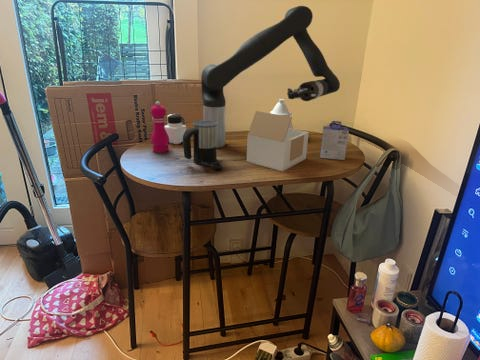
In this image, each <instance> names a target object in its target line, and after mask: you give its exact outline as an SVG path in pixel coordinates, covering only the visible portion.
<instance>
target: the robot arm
mask: <svg viewBox="0 0 480 360" xmlns="http://www.w3.org/2000/svg"><path fill="white" fill-rule="evenodd" d="M313 17H314V16H313V12H312V10H311V9H310V8H309V7H308V6H305V5H298V6H295V7H292V8H290V9H288V10H287V12H285V14H284V17H283V19H282V20H280V21H279V22H277V23H275V24H273V25H271V26H269V27H267V28H265V29H263V30H261V31H259V32H258V33H256V34H254V35H253V36H252V37H250V38H248V39H247V40H246V41H244V42H243V43H242V44H241V45H240V47H238V49H237V50H236V51H235V52H234V53H233V55H232V56H230V57H228V58H227V59H225V60H224V61H223V62H221V63H219V64H208V65H206V66H205V67H204V68H203V69H202V72H201V75H200V76H201V78H200V79H201V98H202V102H203V103H202V104H203V121H214V122H216V123H217V137H216V149H217V148H223V147H224V146H226V98H225V95H224V88H225V87H226V86H227V85H229V83H231V82H232V81H233V80H234V79H235V78H236V77H237V76H239V74H241V73H242V72H244V71H246V70H248V69H249V68H250V67H252V66H253V65H255V64H257V63H258V62H259V61H261V60H263V59H264V58H266V57H267V56H268V55H270V54H271V53H272V52H273V51H274V50H276V49H277V48H279V46H281V45H282V44H283V43H284V42H286V41H287V40H289V39H291V38H293V39H294V41H295V42H296V43H297V45H298V47H299V49H300V50H301V52H302V53H303V56H304V58H305V60H306V62H307V64H308V66H309V69H310V71H311V72H312V73H311V74H312V75H313V76H314V77H318V78H319V77H323V79H317V80H310V81H306V82H302V83H301V84H300V85H299V86H298V87H297V88H294V89H292V88H290V87H289V88H287V89H286V90H287V94H286V95H287V98H288V99H289V100H296V99H299V100H302V101H304V102H310V101H313V100H316V99H317V98H319V97H324V96H326V95H330V94H333V93H336V92H337V91H339V90H340V87H341V84H340V80H339V78H338V77H337V76H336V74H335V73H334V72H333V71H332V70H331V68H330V67H329V66H328V64H327V63H328V62H327V61H326V59H325V56H324V55H323V53H322V50H321V49H320V48H319V47H318V45H317V44H316V43H315V42H314V41H313V39H312V38H311V35H310V33H309V32H308V29H307V28H309V27H310V25H311V24H312V21H313Z"/></svg>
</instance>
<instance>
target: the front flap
mask: <svg viewBox="0 0 480 360" xmlns="http://www.w3.org/2000/svg"><path fill="white" fill-rule="evenodd" d="M292 119H293V117H291V116H290V117H287V116H282V115H276V114H270V112H264V111H258V110H255V113H254V115H253V118H252V121H251V124H250V127H249V130H248V133H247V135H248V134H250V135H254V136H259V137H263V138H268V139H272V140H277V141H281V142H284V140H285V137H286V134H287V131H288V128H289V125H290V122H292Z"/></svg>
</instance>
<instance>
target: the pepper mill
mask: <svg viewBox="0 0 480 360" xmlns="http://www.w3.org/2000/svg"><path fill="white" fill-rule="evenodd" d="M166 114H167V110H166V107H164V106H163V105H161V103H160V101H155V105H153V106H152V107H151V108H150V115H151V116H152V117H151V118H152V119H151V121H152V122H153V131H152V134H151V137H150V139H151V140H150V141H151V143H152V145H153V146H152V150H153V152H156V153H165V151H166V152H168V151H169V145H168V144H169V143H168V142H169V136H168V134H167V132H166V130H165V127H164V126H165V122H166Z"/></svg>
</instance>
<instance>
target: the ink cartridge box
mask: <svg viewBox="0 0 480 360" xmlns="http://www.w3.org/2000/svg"><path fill="white" fill-rule="evenodd" d="M349 131H350V129H349V127H344V126H342V121H338V120H332V121H331V126H327V125H324V126H323V128H322V137H321V145H320V146H321V147H320V153H319V158H320V159H331V160H339V161H340V160H341V161H343V160H344V161H345V160H346V154H347V146H348V140H349V134H350V133H349Z"/></svg>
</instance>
